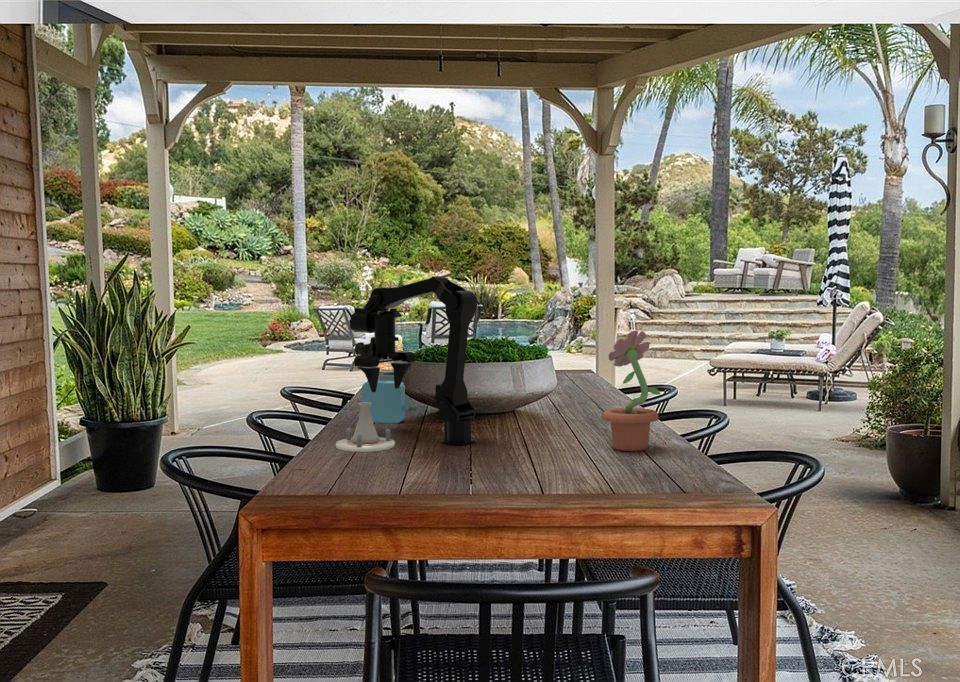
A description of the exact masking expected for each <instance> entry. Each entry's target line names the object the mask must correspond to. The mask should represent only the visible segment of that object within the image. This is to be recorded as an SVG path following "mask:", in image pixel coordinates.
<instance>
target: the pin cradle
mask: <svg viewBox="0 0 960 682" xmlns="http://www.w3.org/2000/svg"><path fill="white" fill-rule="evenodd" d="M345 429H346V431H345V432H346V438H344V439H340V440H337V441H336V442H335V449H336V450H339V451H343V452H350V453H373V452H381V451H387V450H390V449H394V448H395V447H396V440H394V439H393V438H392V439H391V428H385V437H381V436H378V438H379V440H380V441H378V442H375V443H366V444H362V435H357V443H353V442H352V438H353V437H352V427H346V428H345Z"/></svg>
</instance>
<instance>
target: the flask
mask: <svg viewBox="0 0 960 682" xmlns="http://www.w3.org/2000/svg"><path fill="white" fill-rule="evenodd" d="M358 406H359V416H358V420H357V423H356V428H355V430H354V433H353V435H352V437H351V438H352V442H353V443H357V435H362V444H366V443H375V442H378V441H380V440H379V438H378V437H379V434H378V432H377V429H376V427H375V424H374V423H373V421H372V417H371V412H370V406H371V403H369V402H362V401H361V402H359V403H358Z"/></svg>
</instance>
